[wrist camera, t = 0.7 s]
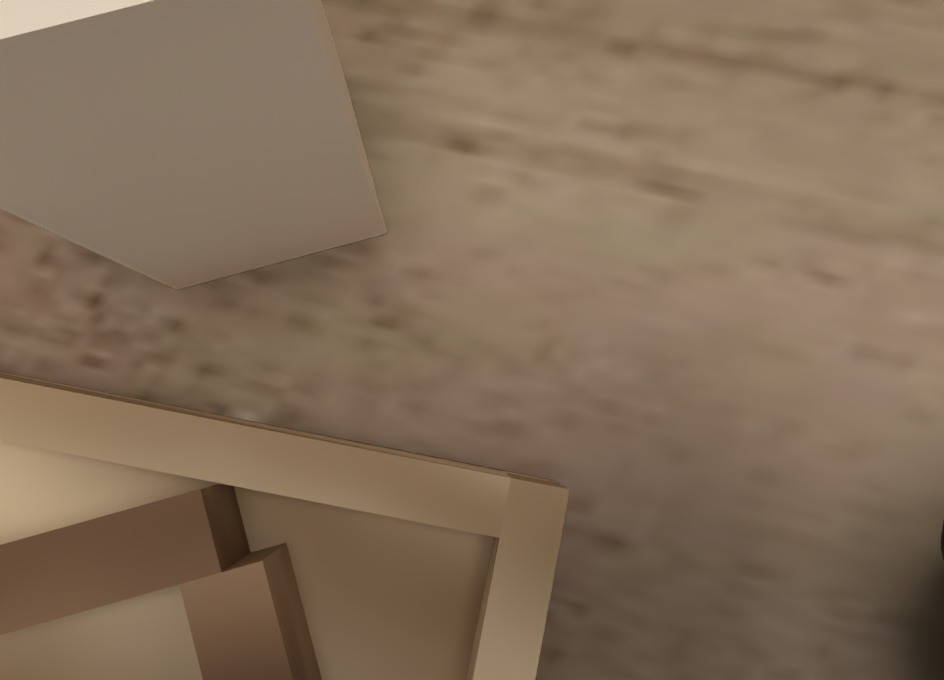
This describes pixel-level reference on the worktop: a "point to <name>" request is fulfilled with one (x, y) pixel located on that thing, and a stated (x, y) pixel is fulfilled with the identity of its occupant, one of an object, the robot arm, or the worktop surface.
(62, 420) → the tray
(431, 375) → the worktop surface
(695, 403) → the worktop surface
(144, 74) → the white tall post
